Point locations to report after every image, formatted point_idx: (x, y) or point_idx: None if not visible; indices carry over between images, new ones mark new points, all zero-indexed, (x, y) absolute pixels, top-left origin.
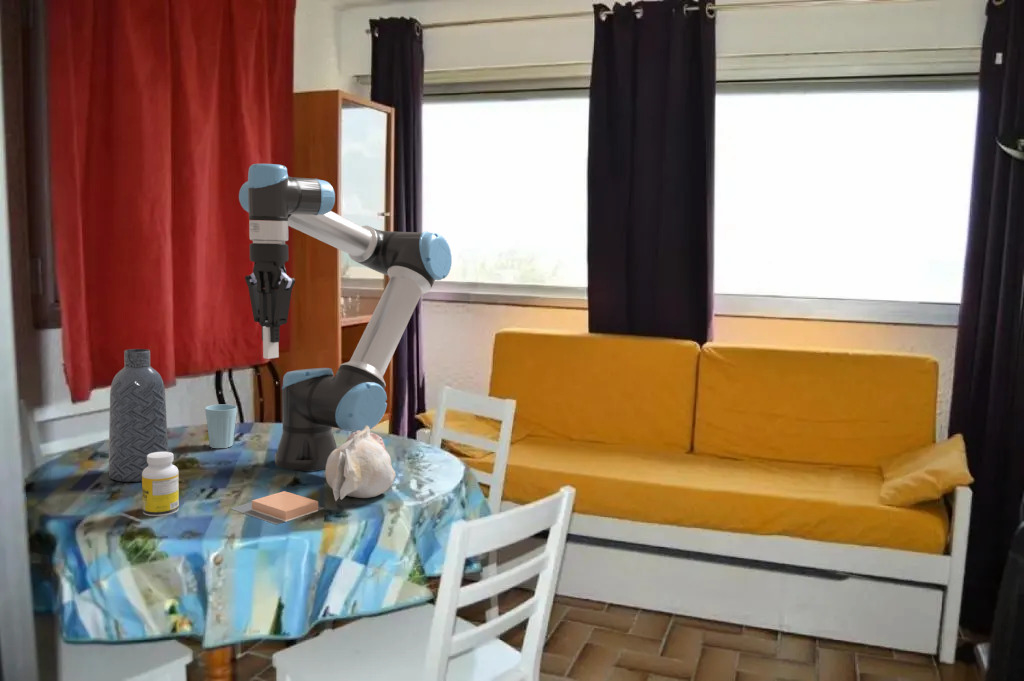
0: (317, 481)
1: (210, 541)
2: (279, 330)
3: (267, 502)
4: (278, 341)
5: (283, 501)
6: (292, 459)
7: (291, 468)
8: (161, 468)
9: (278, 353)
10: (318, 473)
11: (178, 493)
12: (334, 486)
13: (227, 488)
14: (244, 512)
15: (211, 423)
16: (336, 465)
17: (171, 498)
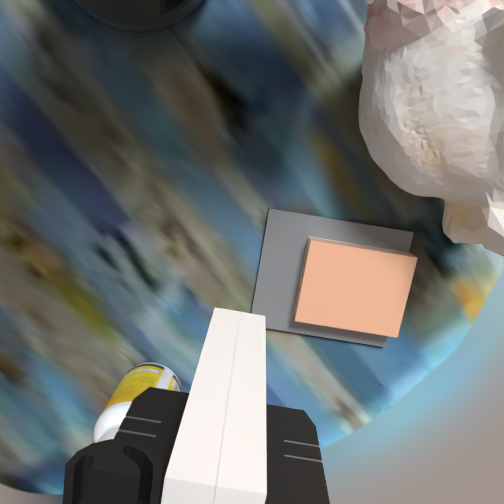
0: (270, 67)
1: (329, 439)
2: (327, 499)
3: (330, 315)
4: (305, 421)
5: (354, 294)
6: (150, 18)
7: (156, 28)
8: None
9: (264, 328)
10: (228, 5)
11: (166, 388)
12: (459, 242)
13: (137, 221)
14: (289, 328)
15: None
16: (477, 235)
17: None
